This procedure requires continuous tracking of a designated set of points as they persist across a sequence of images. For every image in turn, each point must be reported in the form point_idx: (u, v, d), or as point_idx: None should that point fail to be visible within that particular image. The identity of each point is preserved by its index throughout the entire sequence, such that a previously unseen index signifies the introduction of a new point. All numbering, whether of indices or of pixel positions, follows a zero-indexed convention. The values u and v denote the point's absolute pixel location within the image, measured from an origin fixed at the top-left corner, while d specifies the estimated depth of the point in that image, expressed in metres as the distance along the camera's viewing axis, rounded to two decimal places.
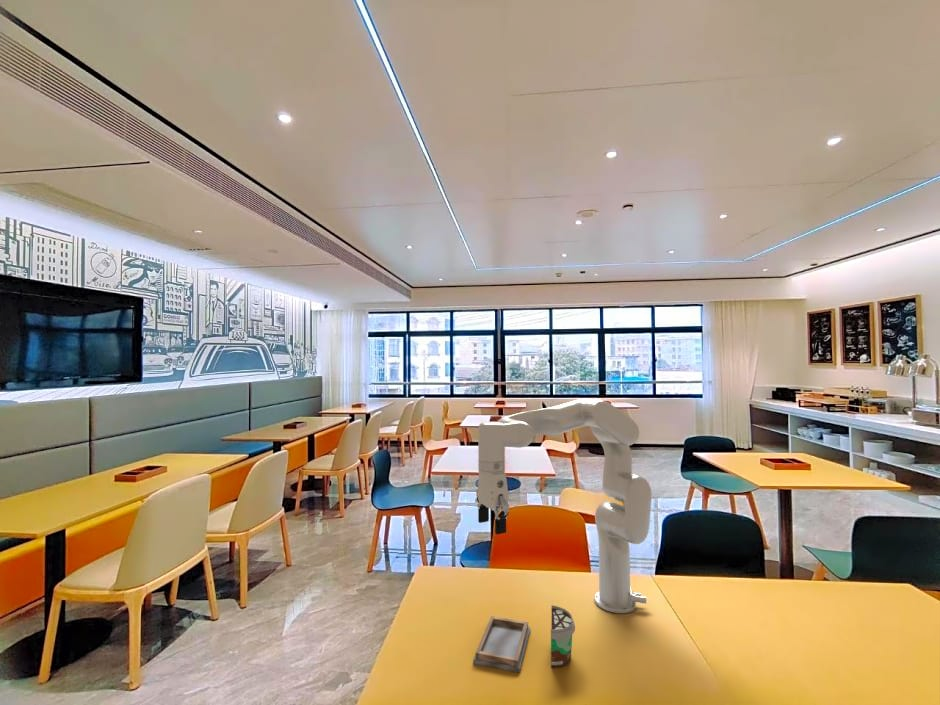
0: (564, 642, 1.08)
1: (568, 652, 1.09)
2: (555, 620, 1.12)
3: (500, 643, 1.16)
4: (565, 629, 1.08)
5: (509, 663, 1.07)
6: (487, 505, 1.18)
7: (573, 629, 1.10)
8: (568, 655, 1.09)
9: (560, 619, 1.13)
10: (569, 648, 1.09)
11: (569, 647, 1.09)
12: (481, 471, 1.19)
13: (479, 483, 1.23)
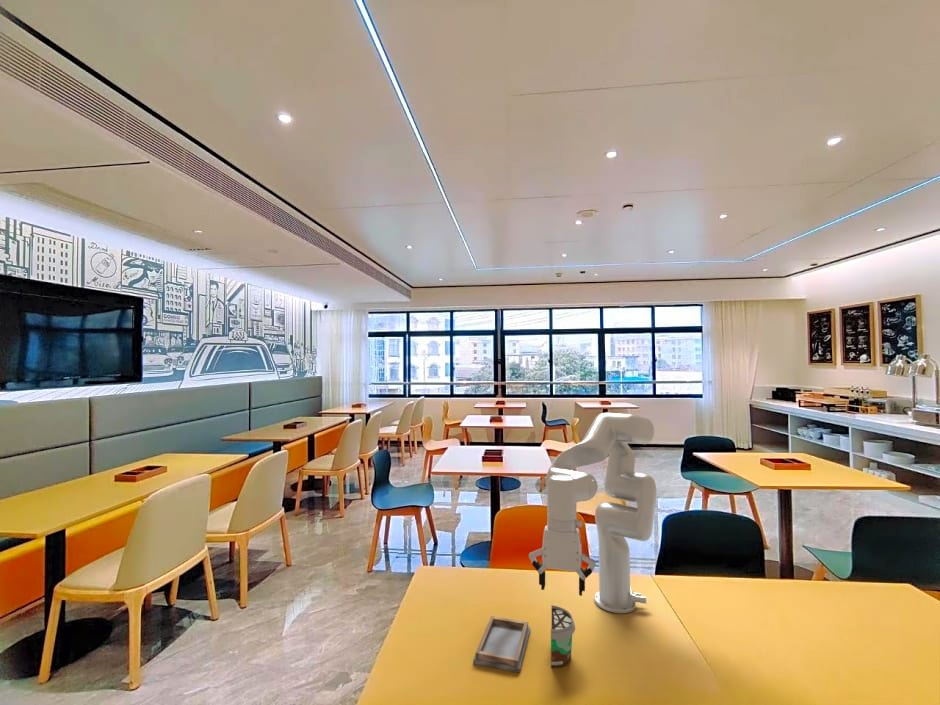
0: (564, 642, 1.08)
1: (568, 653, 1.09)
2: (555, 620, 1.12)
3: (500, 643, 1.16)
4: (565, 629, 1.08)
5: (509, 663, 1.07)
6: (566, 568, 1.10)
7: (573, 629, 1.10)
8: (568, 655, 1.09)
9: (560, 619, 1.13)
10: (569, 648, 1.09)
11: (569, 647, 1.09)
12: (563, 532, 1.09)
13: (549, 546, 1.11)
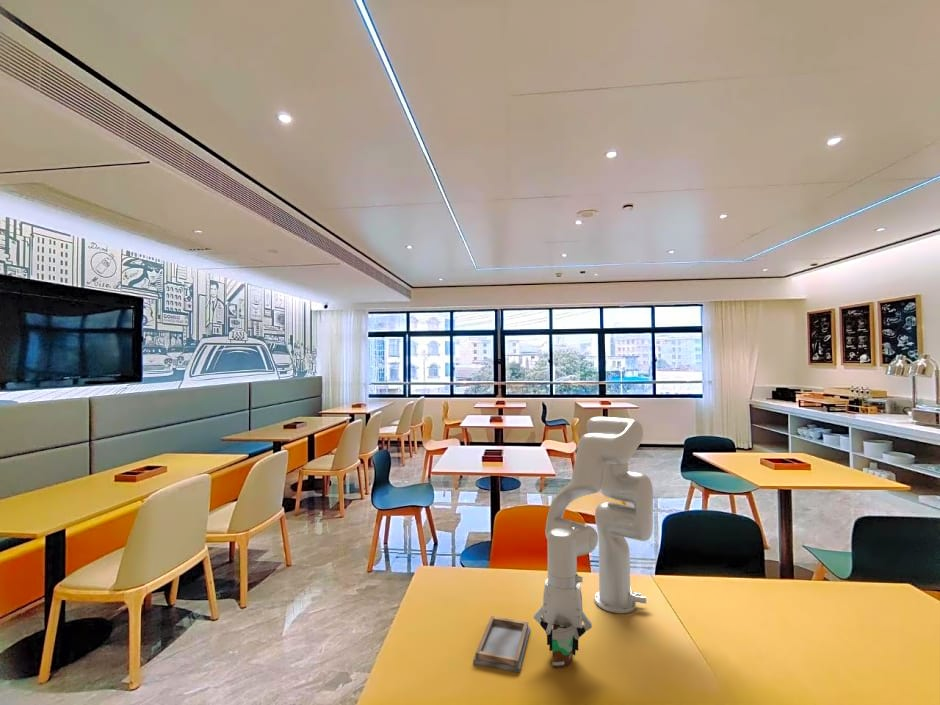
0: (565, 643, 1.08)
1: (570, 653, 1.09)
2: None
3: (500, 643, 1.16)
4: (566, 630, 1.08)
5: (509, 663, 1.07)
6: (567, 624, 1.10)
7: (575, 630, 1.09)
8: (569, 656, 1.09)
9: None
10: (571, 649, 1.09)
11: (571, 648, 1.09)
12: (564, 589, 1.09)
13: (549, 602, 1.11)
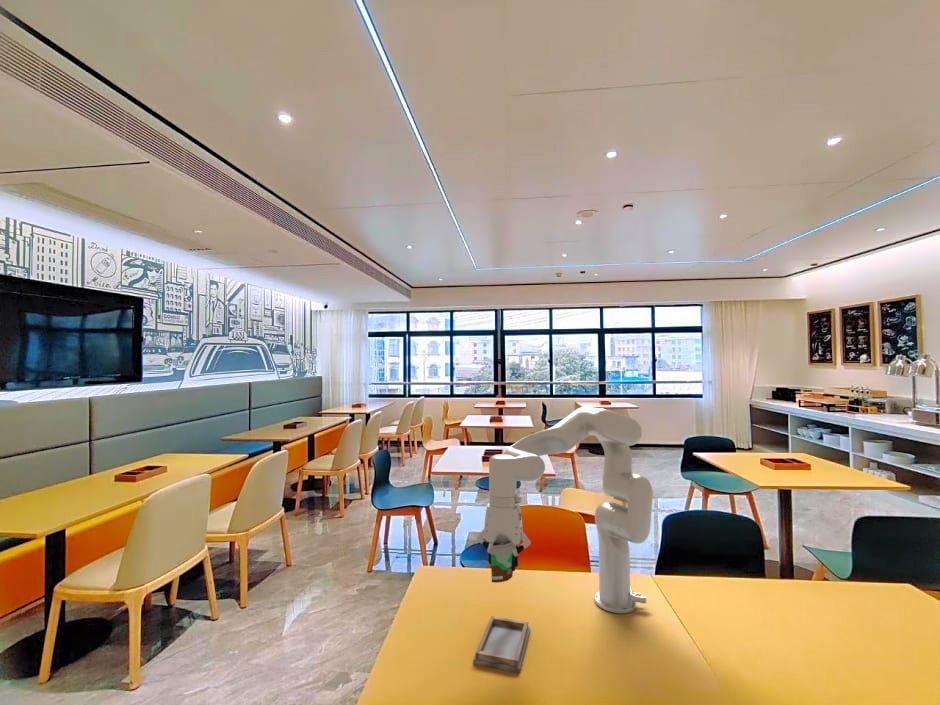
0: (503, 558, 1.13)
1: (509, 569, 1.14)
2: None
3: (500, 643, 1.16)
4: (505, 546, 1.13)
5: (509, 663, 1.07)
6: (506, 542, 1.15)
7: (513, 547, 1.15)
8: (508, 571, 1.14)
9: None
10: (509, 565, 1.14)
11: (509, 564, 1.14)
12: (502, 508, 1.14)
13: (490, 522, 1.16)
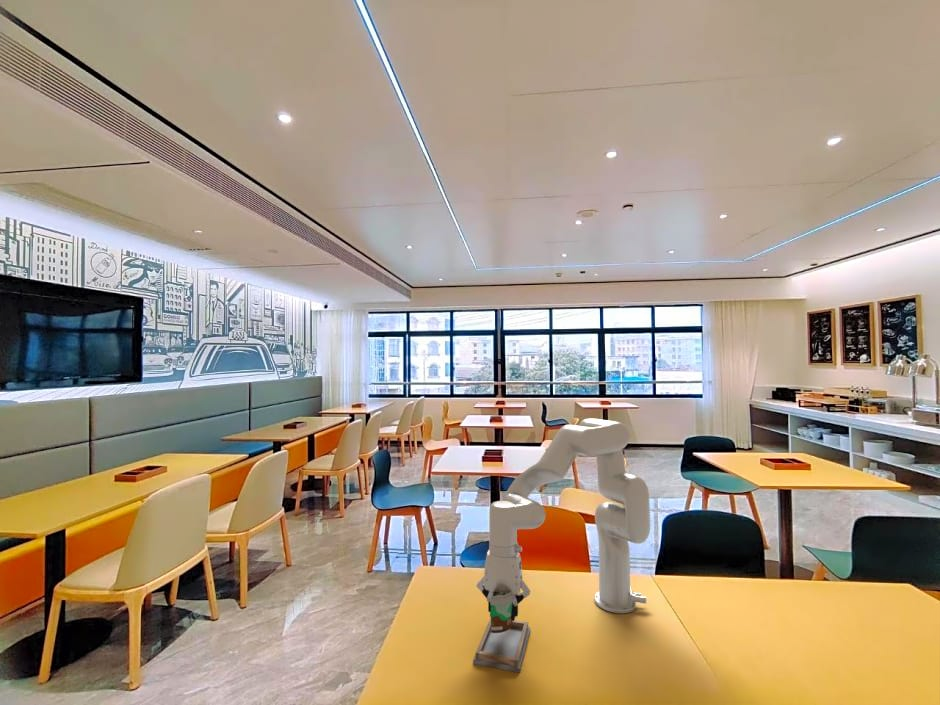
0: (503, 608, 1.12)
1: (508, 619, 1.14)
2: None
3: (500, 643, 1.16)
4: (505, 596, 1.12)
5: (509, 663, 1.07)
6: (506, 591, 1.14)
7: (513, 596, 1.14)
8: (508, 621, 1.14)
9: None
10: (509, 614, 1.14)
11: (509, 614, 1.14)
12: (502, 558, 1.14)
13: (490, 570, 1.16)
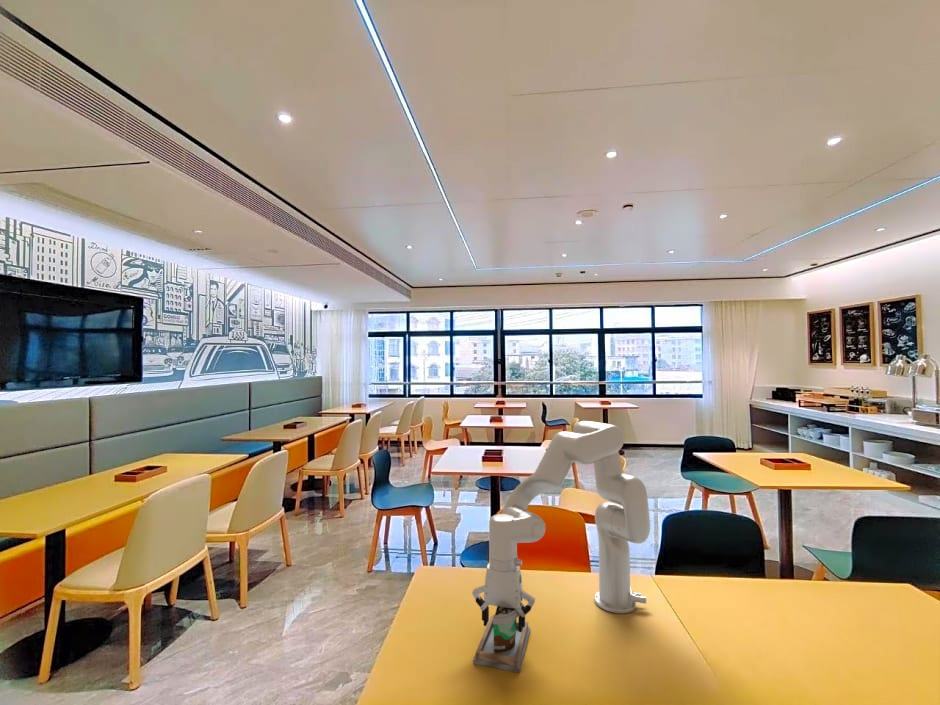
0: (506, 627, 1.12)
1: (511, 638, 1.14)
2: (500, 607, 1.17)
3: None
4: (507, 615, 1.12)
5: (509, 663, 1.07)
6: (506, 605, 1.14)
7: (516, 615, 1.14)
8: (511, 640, 1.13)
9: None
10: (512, 633, 1.14)
11: (512, 632, 1.14)
12: (502, 572, 1.13)
13: (490, 584, 1.16)
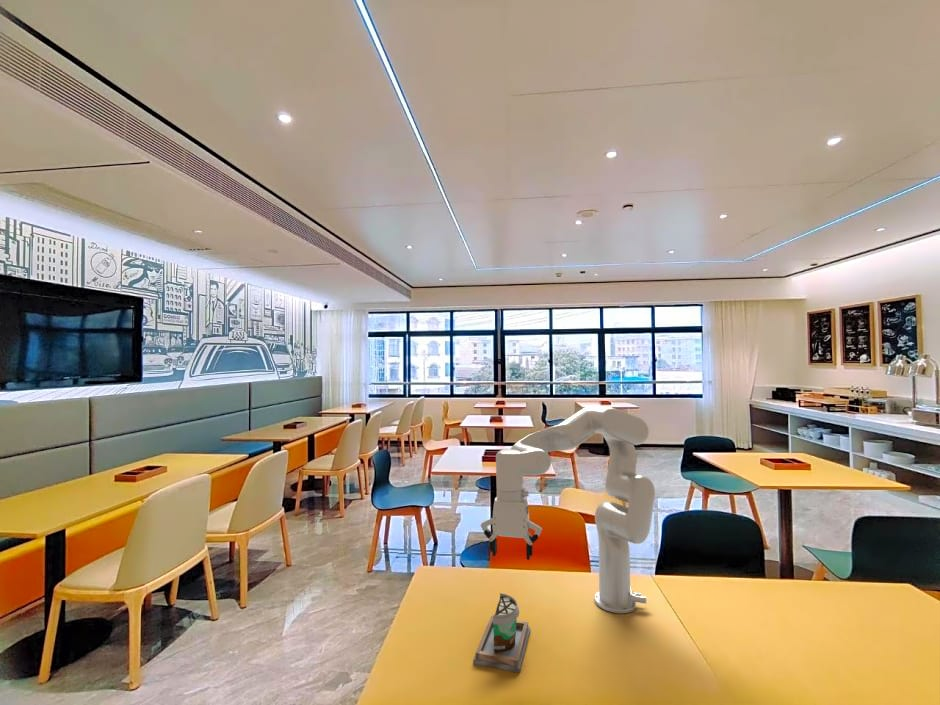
0: (506, 627, 1.12)
1: (511, 638, 1.14)
2: (500, 607, 1.17)
3: None
4: (507, 615, 1.12)
5: (509, 663, 1.07)
6: (514, 535, 1.18)
7: (516, 615, 1.14)
8: (511, 640, 1.13)
9: (505, 606, 1.17)
10: (512, 633, 1.14)
11: (512, 632, 1.14)
12: (510, 502, 1.17)
13: (498, 515, 1.19)
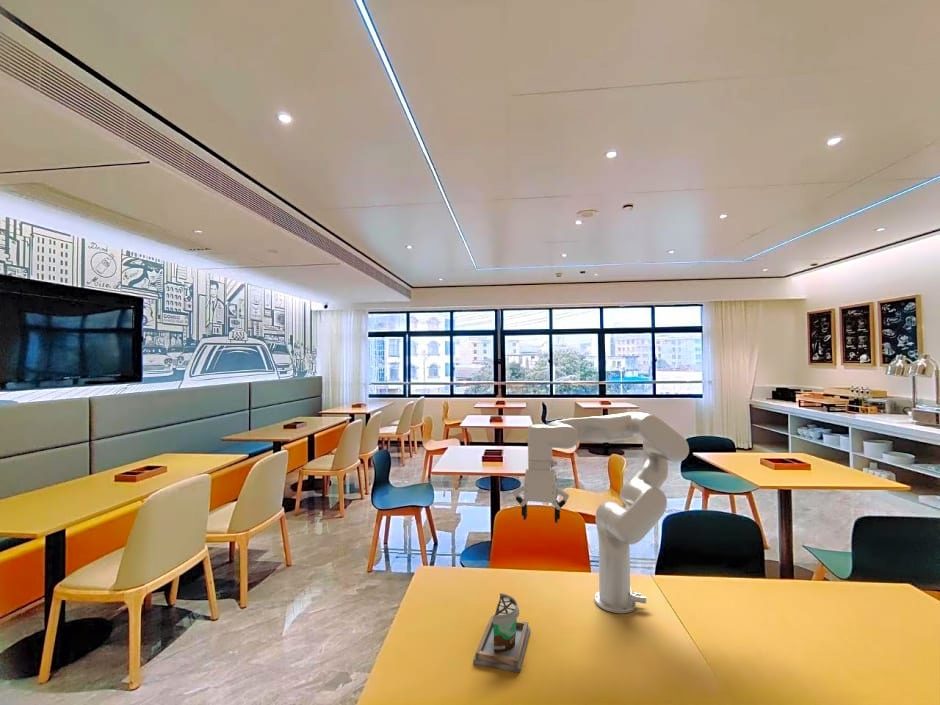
0: (506, 627, 1.12)
1: (511, 638, 1.14)
2: (500, 607, 1.17)
3: None
4: (507, 615, 1.12)
5: (509, 663, 1.07)
6: (543, 500, 1.31)
7: (516, 615, 1.14)
8: (511, 640, 1.13)
9: (506, 606, 1.17)
10: (512, 633, 1.14)
11: (512, 632, 1.14)
12: (541, 470, 1.30)
13: (529, 482, 1.33)
